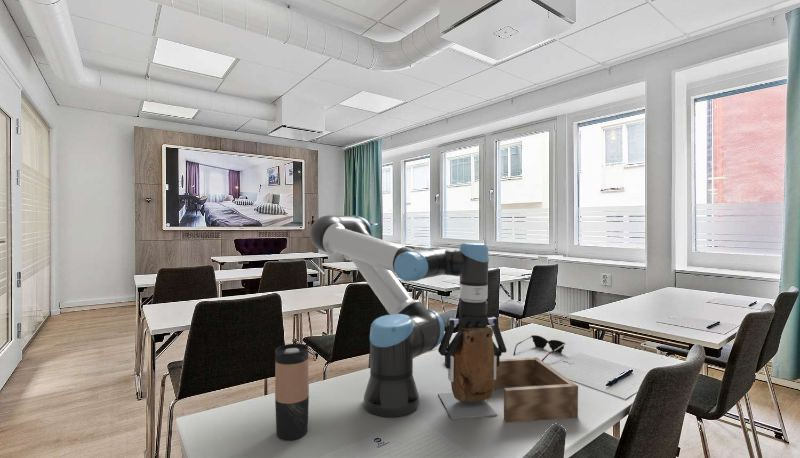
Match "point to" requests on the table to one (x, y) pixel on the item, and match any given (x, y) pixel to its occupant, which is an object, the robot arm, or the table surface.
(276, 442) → the table surface
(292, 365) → the travel mug
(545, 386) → the open box
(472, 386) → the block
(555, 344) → the sunglasses
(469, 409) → the mat
